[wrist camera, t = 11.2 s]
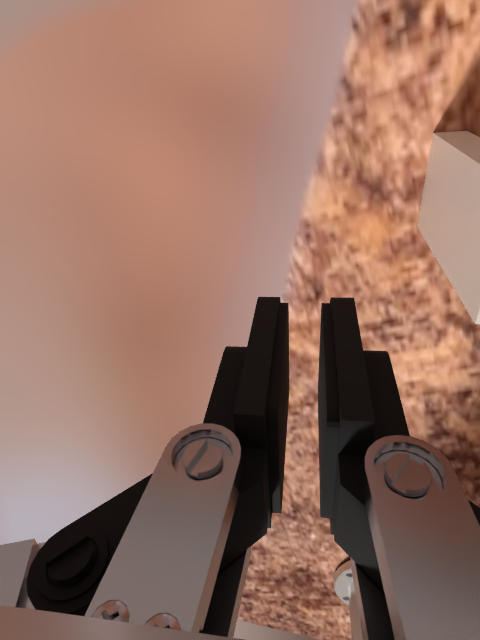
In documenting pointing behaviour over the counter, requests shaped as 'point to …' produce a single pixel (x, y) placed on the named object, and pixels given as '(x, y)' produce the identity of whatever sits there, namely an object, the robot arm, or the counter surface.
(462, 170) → the domino
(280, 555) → the counter surface
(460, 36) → the counter surface
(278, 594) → the counter surface
